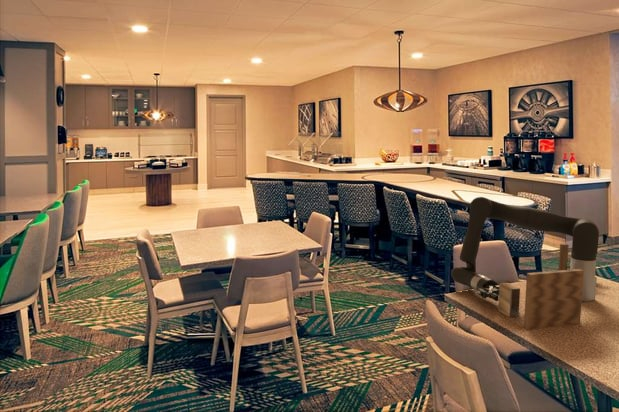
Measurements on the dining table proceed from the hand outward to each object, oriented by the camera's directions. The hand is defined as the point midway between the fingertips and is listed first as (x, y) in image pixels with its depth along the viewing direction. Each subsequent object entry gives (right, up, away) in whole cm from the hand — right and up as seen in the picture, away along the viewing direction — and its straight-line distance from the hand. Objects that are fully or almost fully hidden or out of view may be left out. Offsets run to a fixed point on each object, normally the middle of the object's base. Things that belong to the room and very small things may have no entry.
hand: (507, 297), depth 192 cm
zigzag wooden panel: (+11, -7, -10) cm, 16 cm away
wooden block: (+45, 0, +39) cm, 59 cm away
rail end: (0, -6, 0) cm, 6 cm away
